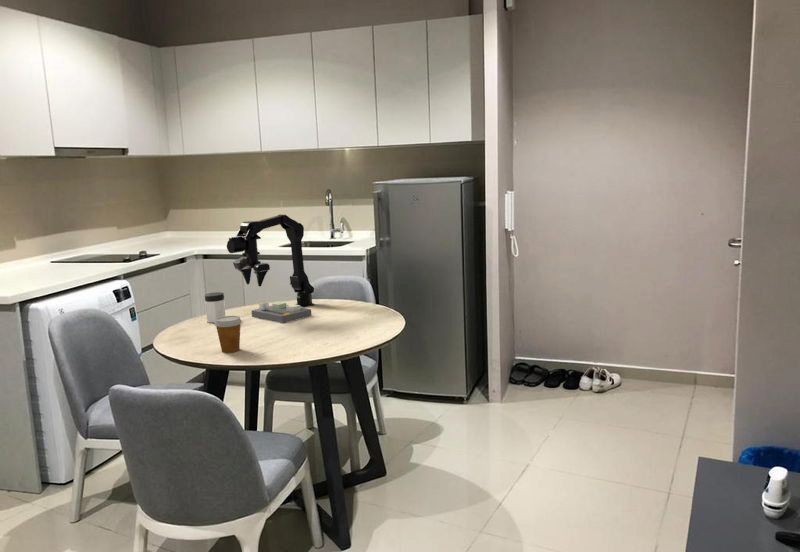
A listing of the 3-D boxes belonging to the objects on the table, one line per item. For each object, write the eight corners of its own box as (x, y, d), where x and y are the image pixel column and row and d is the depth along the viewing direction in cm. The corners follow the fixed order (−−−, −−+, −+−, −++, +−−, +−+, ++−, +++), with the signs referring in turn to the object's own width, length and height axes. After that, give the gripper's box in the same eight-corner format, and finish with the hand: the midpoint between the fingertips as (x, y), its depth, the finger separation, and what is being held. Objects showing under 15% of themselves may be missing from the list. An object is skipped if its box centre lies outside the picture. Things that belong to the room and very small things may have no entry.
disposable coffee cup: (246, 346, 245) (243, 314, 243) (241, 353, 236) (238, 320, 234) (220, 347, 245) (217, 316, 243) (214, 354, 235) (211, 322, 233)
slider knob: (265, 308, 294) (264, 301, 293) (269, 308, 292) (268, 302, 291) (259, 309, 292) (259, 302, 291) (263, 310, 290) (263, 303, 289)
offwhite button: (294, 309, 293) (294, 304, 293) (300, 310, 290) (300, 305, 290) (286, 311, 290) (286, 306, 290) (292, 312, 287) (292, 307, 287)
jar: (211, 324, 283) (209, 296, 281) (202, 321, 289) (200, 294, 287) (230, 320, 289) (228, 293, 287) (221, 317, 295) (218, 291, 293)
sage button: (280, 307, 300) (280, 301, 299) (286, 308, 297) (286, 303, 296) (272, 309, 297) (272, 303, 296) (278, 310, 294) (278, 304, 293)
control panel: (280, 310, 305) (280, 303, 304) (311, 315, 290) (311, 308, 290) (251, 317, 293) (251, 310, 293) (282, 323, 278) (282, 316, 278)
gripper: (223, 251, 288) (226, 286, 291) (246, 254, 275) (250, 290, 278) (245, 248, 296) (248, 282, 299) (269, 250, 283) (272, 286, 286)
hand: (253, 285), depth 290 cm, fingers open, 9 cm apart
